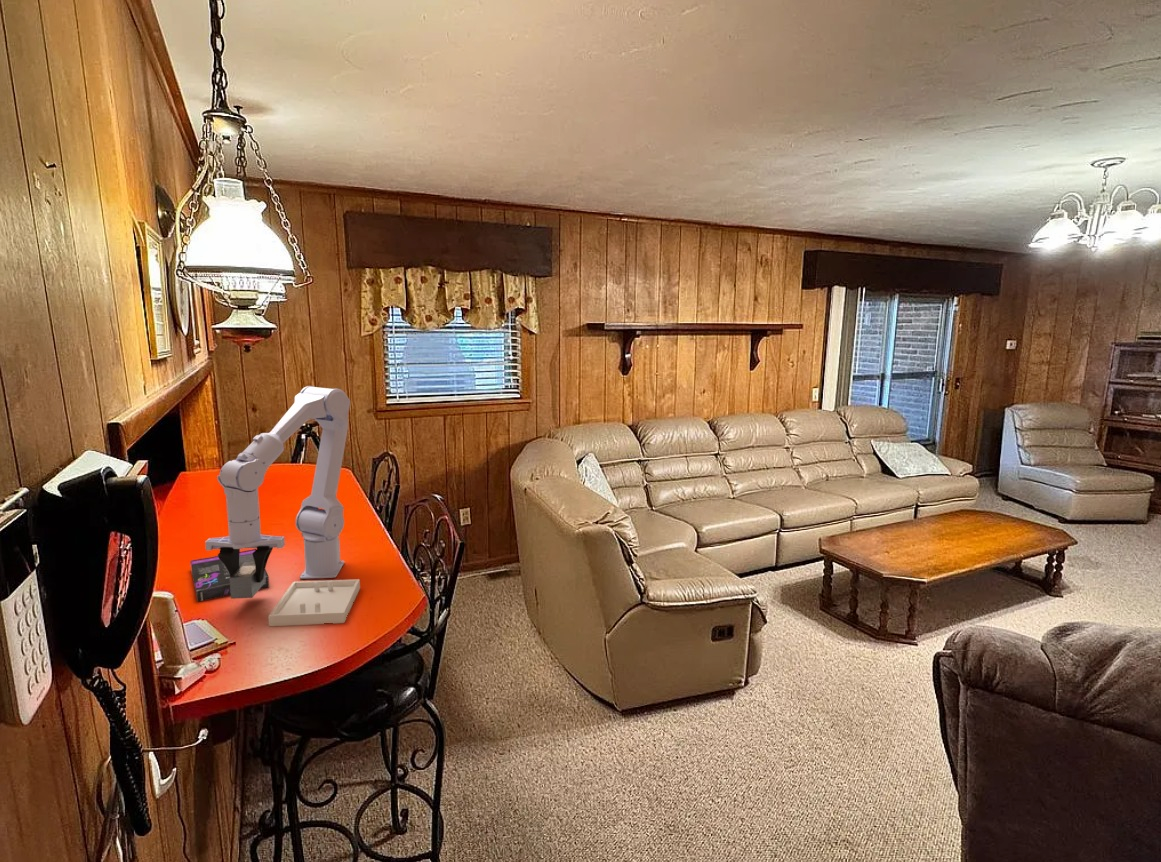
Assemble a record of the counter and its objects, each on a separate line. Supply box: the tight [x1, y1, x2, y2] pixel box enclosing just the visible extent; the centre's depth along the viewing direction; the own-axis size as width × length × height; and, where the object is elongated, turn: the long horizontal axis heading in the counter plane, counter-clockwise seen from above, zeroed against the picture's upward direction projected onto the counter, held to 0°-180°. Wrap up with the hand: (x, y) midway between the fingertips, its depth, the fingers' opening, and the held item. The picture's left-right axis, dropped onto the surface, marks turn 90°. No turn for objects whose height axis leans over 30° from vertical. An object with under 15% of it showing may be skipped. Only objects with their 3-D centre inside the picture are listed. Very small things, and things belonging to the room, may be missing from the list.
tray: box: [268, 578, 361, 627], centre depth 127 cm, size 16×14×3 cm
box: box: [190, 548, 270, 603], centre depth 139 cm, size 14×4×20 cm
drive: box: [229, 562, 266, 600], centre depth 126 cm, size 8×4×5 cm, turn 9°
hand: (248, 580), depth 126 cm, fingers closed on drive, 4 cm apart
